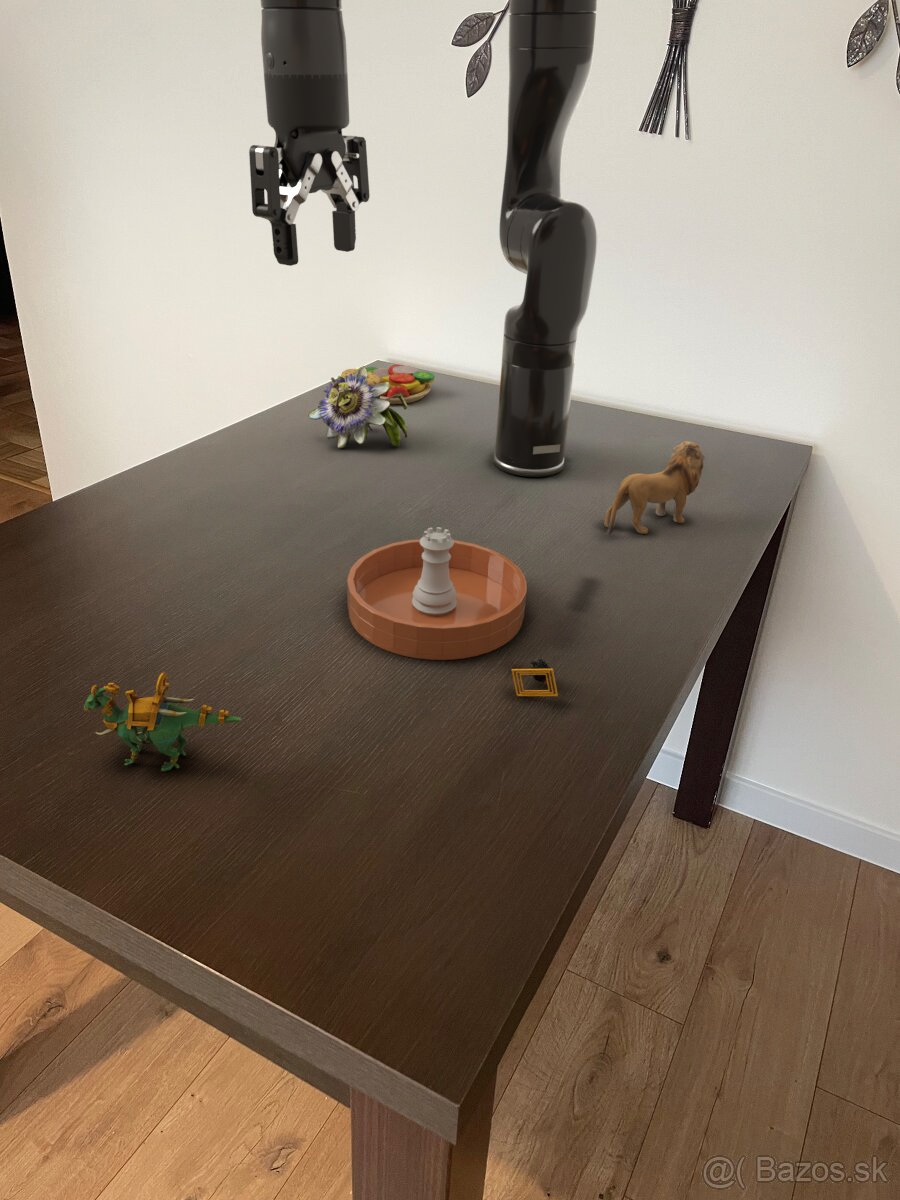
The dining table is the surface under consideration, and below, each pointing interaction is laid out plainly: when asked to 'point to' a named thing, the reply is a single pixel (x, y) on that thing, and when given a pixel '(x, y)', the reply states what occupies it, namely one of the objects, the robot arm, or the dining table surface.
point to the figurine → (152, 719)
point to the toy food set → (399, 382)
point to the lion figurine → (660, 486)
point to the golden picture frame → (539, 674)
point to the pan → (469, 630)
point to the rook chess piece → (435, 575)
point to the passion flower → (358, 409)
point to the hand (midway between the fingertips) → (317, 257)
